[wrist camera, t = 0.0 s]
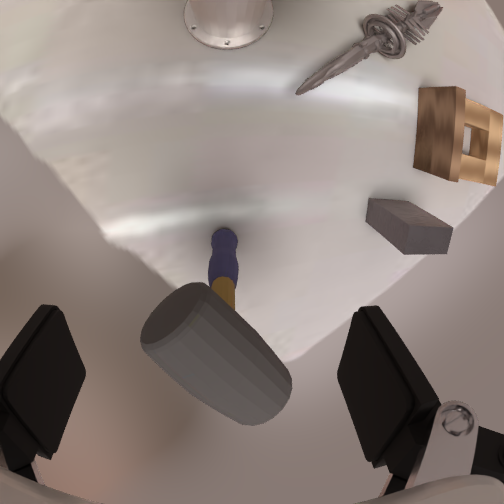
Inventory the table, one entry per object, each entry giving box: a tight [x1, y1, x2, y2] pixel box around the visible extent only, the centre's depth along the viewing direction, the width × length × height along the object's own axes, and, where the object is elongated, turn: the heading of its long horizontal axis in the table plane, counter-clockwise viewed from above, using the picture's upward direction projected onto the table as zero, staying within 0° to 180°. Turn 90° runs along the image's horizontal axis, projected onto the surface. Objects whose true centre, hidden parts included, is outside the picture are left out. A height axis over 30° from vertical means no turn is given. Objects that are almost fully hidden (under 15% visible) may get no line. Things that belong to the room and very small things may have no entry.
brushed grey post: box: [366, 198, 453, 255], centre depth 41 cm, size 4×8×13 cm, turn 89°
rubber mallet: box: [140, 229, 292, 426], centre depth 33 cm, size 12×8×30 cm, turn 35°
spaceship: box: [295, 0, 443, 95], centre depth 31 cm, size 8×35×8 cm
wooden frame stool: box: [413, 86, 503, 186], centre depth 37 cm, size 14×18×10 cm
